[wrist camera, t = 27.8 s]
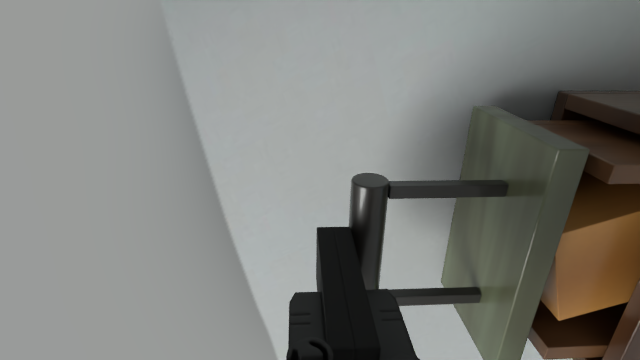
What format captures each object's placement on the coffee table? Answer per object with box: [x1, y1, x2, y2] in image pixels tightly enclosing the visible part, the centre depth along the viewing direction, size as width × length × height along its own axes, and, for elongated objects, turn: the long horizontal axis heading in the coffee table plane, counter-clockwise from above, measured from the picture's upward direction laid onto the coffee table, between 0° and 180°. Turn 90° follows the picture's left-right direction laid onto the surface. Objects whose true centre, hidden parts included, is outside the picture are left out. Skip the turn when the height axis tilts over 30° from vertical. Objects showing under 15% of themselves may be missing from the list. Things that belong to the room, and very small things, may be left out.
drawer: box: [349, 106, 640, 360], centre depth 18 cm, size 20×11×7 cm, turn 89°
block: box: [540, 171, 640, 321], centre depth 18 cm, size 5×5×5 cm
